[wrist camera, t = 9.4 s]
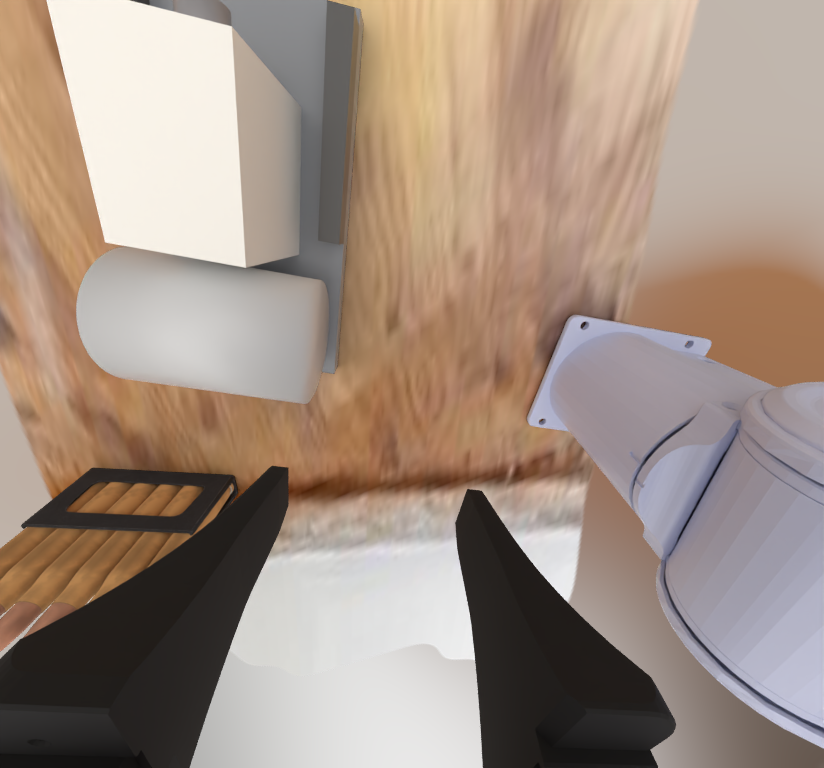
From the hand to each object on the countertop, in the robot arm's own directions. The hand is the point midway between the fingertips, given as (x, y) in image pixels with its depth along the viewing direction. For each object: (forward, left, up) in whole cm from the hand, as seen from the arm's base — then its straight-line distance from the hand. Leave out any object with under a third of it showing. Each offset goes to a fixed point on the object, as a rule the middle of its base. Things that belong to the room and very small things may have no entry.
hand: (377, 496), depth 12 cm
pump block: (+8, -11, -8) cm, 16 cm away
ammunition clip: (+16, +11, -10) cm, 22 cm away
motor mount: (+8, -9, -9) cm, 15 cm away
